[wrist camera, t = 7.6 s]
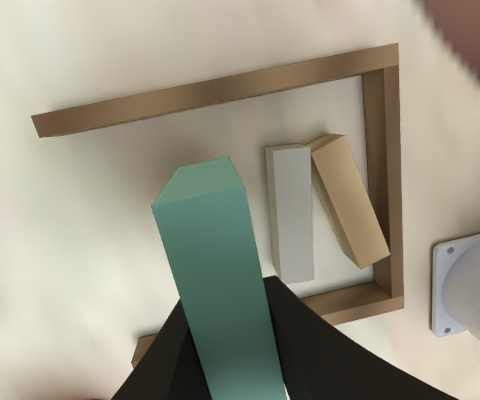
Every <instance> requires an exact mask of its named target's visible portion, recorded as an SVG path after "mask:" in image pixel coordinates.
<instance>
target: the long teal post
mask: <svg viewBox="0 0 480 400" xmlns="http://www.w3.org/2000/svg"><path fill="white" fill-rule="evenodd" d="M151 207H152V210H153V213H154V216H155V219H156V223H157V226H158V229H159V232H160V235H161V238H162V242H163V245H164V248H165V251H166V254H167V258H168V261H169V264H170V267H171V270H172V273H173V277H174V280H175V283H176V286H177V289H178V292H179V296H180V299H181V302H182V305H183V308H184V311H185V315H186V318H187V321H188V324H189V327H190V330H191V334H192V337H193V340H194V343H195V346H196V349H197V353H198V356H199V359H200V362H201V365H202V368H203V372H204V375H205V378H206V381H207V384H208V387H209V391H210V394H211V397H212V400H287V397H286V392H285V387H284V382H283V377H282V372H281V367H280V362H279V357H278V352H277V347H276V342H275V337H274V332H273V327H272V322H271V317H270V312H269V307H268V302H267V297H266V292H265V287H264V282H263V277H262V272H261V267H260V262H259V257H258V252H257V247H256V242H255V237H254V232H253V227H252V222H251V217H250V212H249V207H248V202H247V197H246V192H245V187H244V184H243V182H242V181H241V179H240V177H239V175H238V173H237V171H236V169H235V167H234V165H233V164H232V162H231V160H230V158H229V156H228V157H223V158H219V159H214V160H209V161H205V162H200V163H195V164H191V165H186V166H181V167H178V168H177V170H176V171H175V173H174V174H173V175H172V177H171V178H170V180H169V181H168V183H167V184H166V186H165V187H164V188H163V190H162V191H161V193H160V194H159V196H158V197H157V198H156V200H155V201H154V203H153V204H152V206H151Z"/></svg>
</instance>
